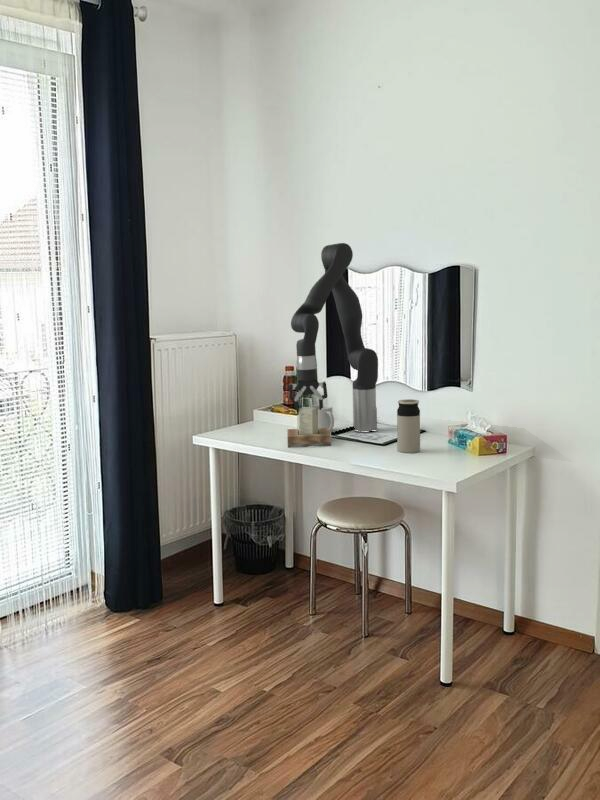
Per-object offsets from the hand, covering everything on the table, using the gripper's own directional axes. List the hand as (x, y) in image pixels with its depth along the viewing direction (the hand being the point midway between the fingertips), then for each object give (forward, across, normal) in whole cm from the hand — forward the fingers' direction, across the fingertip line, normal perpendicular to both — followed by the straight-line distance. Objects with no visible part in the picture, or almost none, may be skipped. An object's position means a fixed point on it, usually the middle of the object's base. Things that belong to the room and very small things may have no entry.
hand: (308, 410), depth 301 cm
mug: (+13, -6, -19) cm, 24 cm away
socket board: (+12, +1, 0) cm, 13 cm away
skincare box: (+12, +1, 0) cm, 12 cm away
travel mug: (+13, -34, +19) cm, 41 cm away
